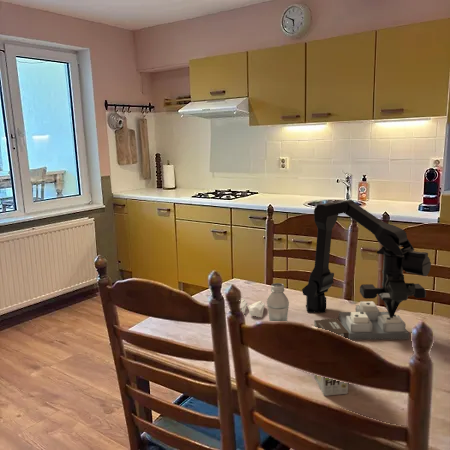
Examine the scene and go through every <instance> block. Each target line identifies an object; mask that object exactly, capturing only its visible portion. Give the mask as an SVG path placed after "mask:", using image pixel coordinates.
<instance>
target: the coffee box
mask: <svg viewBox="0 0 450 450" xmlns="http://www.w3.org/2000/svg"><path fill="white" fill-rule="evenodd" d="M314 326H315V327H318V328H322V329H325V330H329V331H331V332H334V333H336V334H338V335H341V336H343V337H345V338H348V339H349V332H348V331H347V330H346V329H345V328H344V326H343V325H342V323H341V321H340V319H339V318H324V319H315V320H314V321H313V327H314ZM313 377H314V379H315V381H316V384H317V385H318V387H319V389H320V390H321V392H322V394H323V396H325V397H328V396H335V395H336V396H337V395H347V394H348V393H349V382H348V383H344V382H340V381H336V380H333V379H329V378H325V377H321V376H317V375H315V374H314V375H313Z"/></svg>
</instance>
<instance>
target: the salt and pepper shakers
mask: <svg viewBox="0 0 450 450" xmlns="http://www.w3.org/2000/svg"><path fill="white" fill-rule="evenodd" d="M240 300H241V310H242V311H243V312H244V314H245V313H246V309H247V310H248V313H249V315H250V316H251V317H253V316H256V317H255V318H259V317H261V318H262V317H263V315H264V310H265V305H266V304H265V302H263V301H262V300H259V301H256V302H253V303H252V304H249V305H248V301H246V299H240Z"/></svg>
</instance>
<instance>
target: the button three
mask: <svg viewBox="0 0 450 450" xmlns="http://www.w3.org/2000/svg"><path fill="white" fill-rule="evenodd" d="M400 318H401V317H400ZM400 318H399V317H398V316H397V314H394V316H393V317H390V316H389V315H382V319H383V320H384V321H385V323H401V320H400Z"/></svg>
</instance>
